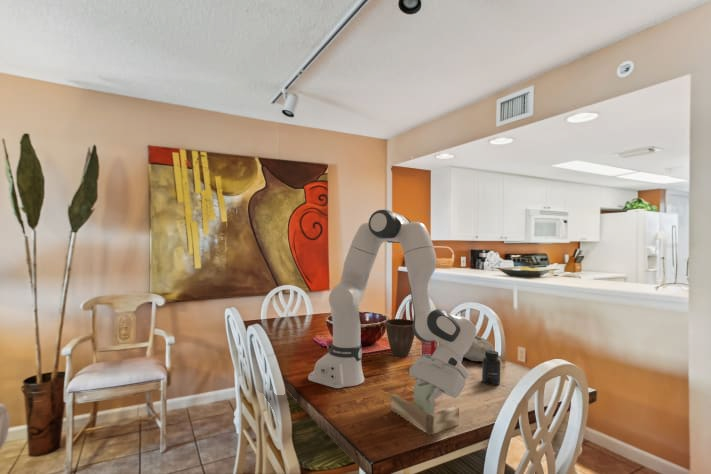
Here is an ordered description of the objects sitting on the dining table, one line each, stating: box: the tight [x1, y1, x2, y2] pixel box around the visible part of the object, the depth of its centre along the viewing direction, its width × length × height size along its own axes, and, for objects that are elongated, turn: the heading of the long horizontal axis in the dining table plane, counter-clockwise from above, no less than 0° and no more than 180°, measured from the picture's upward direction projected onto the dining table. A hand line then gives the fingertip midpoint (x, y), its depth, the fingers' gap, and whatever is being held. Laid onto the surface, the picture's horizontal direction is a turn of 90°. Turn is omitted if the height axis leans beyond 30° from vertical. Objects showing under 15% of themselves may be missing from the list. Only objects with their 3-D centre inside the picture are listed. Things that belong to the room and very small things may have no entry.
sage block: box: [413, 381, 435, 414], centre depth 117 cm, size 4×4×9 cm
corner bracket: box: [390, 393, 460, 436], centre depth 117 cm, size 12×18×5 cm, turn 32°
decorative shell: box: [463, 335, 495, 362], centre depth 174 cm, size 18×18×10 cm
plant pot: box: [385, 318, 415, 358], centre depth 179 cm, size 15×15×16 cm
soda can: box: [421, 340, 439, 356], centre depth 168 cm, size 7×7×13 cm
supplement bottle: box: [481, 350, 502, 386], centre depth 146 cm, size 7×7×12 cm
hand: (422, 397), depth 117 cm, fingers closed on sage block, 4 cm apart
